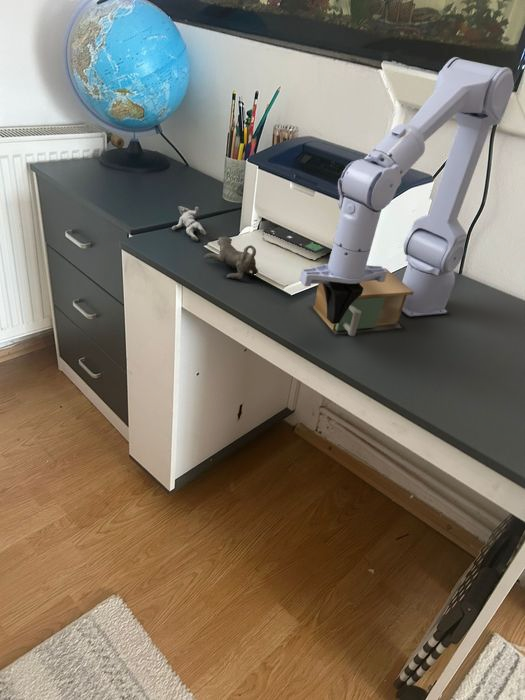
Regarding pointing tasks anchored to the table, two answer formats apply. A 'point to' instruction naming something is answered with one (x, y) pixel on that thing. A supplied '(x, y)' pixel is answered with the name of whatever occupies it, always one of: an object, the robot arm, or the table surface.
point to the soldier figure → (189, 222)
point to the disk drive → (294, 239)
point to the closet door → (361, 314)
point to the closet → (389, 289)
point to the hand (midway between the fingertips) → (332, 320)
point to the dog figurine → (235, 258)
